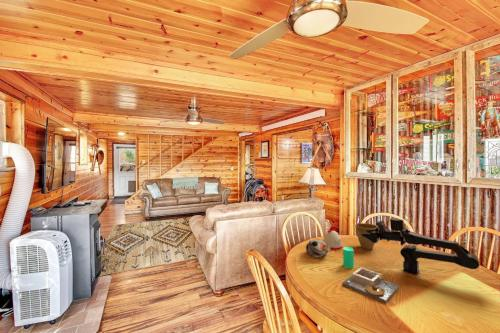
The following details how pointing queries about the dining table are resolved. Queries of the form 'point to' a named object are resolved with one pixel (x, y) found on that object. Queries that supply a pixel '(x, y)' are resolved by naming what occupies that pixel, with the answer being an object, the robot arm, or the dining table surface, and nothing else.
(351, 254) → the candle
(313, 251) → the lucky cat figurine
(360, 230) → the plant pot
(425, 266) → the dining table surface
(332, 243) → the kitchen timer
